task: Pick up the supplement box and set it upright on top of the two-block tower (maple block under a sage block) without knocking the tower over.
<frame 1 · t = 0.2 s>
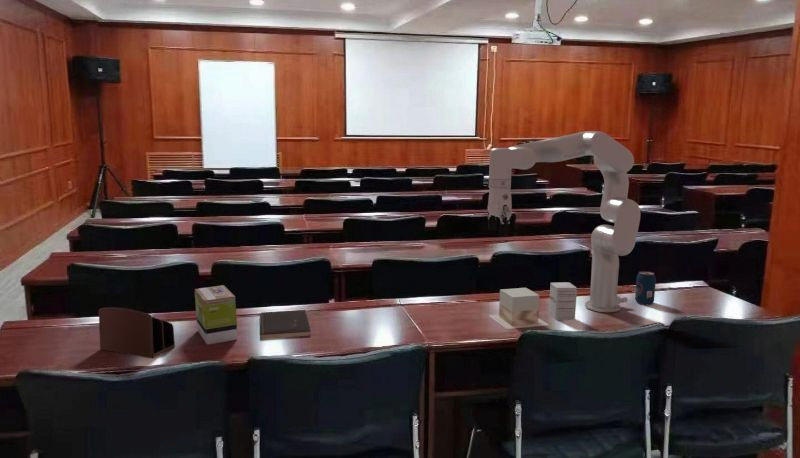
hand: (498, 232, 216), 31 cm above the table, tool pointing down, fingers open, 9 cm apart
upper block: (518, 306, 214), point 6 cm above the table, touching lower block
letter holder: (137, 349, 188), on the table
base board: (518, 322, 215), on the table
supplement box: (561, 319, 220), on the table
tea box: (216, 336, 200), on the table
hardcover book: (284, 328, 210), on the table
lower block: (518, 320, 215), point 1 cm above the table, touching base board, upper block
soda can: (644, 303, 241), on the table
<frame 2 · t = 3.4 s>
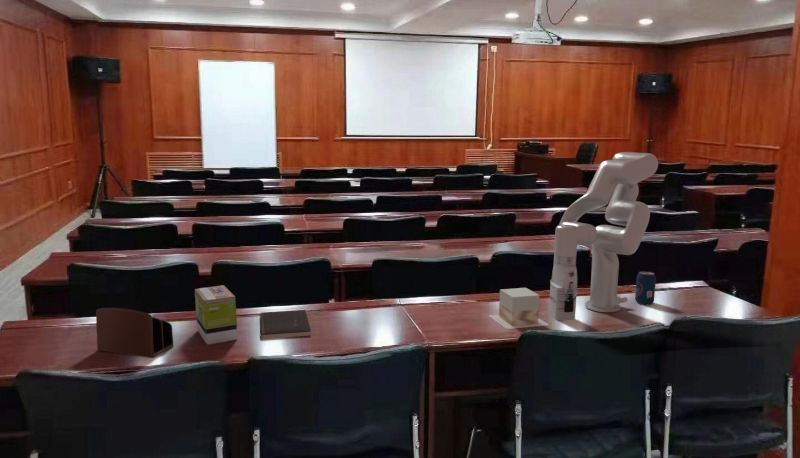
hand: (562, 308, 219), 4 cm above the table, tool pointing down, fingers closed on supplement box, 8 cm apart
supplement box: (561, 319, 220), on the table, touching gripper
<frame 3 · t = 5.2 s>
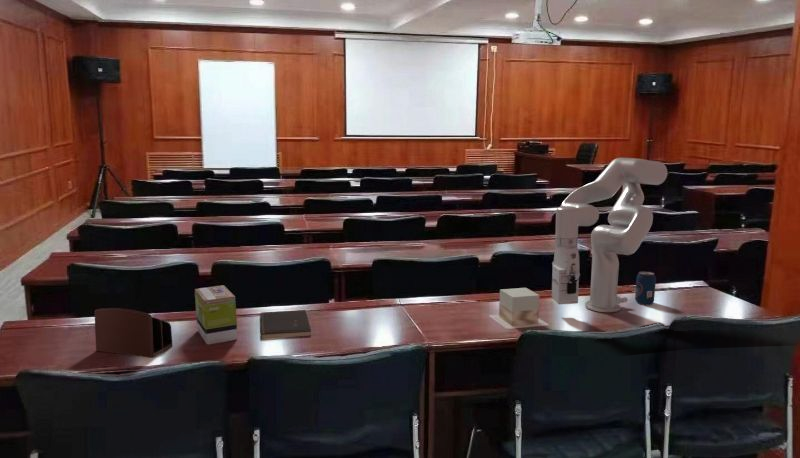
hand: (564, 289, 218), 11 cm above the table, tool pointing down, fingers closed on supplement box, 8 cm apart
supplement box: (564, 301, 219), point 6 cm above the table, touching gripper
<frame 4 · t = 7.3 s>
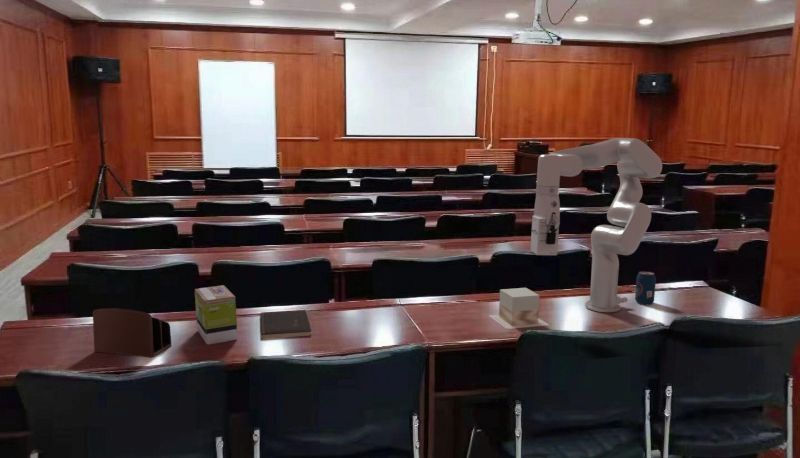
hand: (544, 241, 212), 29 cm above the table, tool pointing down, fingers closed on supplement box, 8 cm apart
supplement box: (543, 253, 213), point 24 cm above the table, touching gripper
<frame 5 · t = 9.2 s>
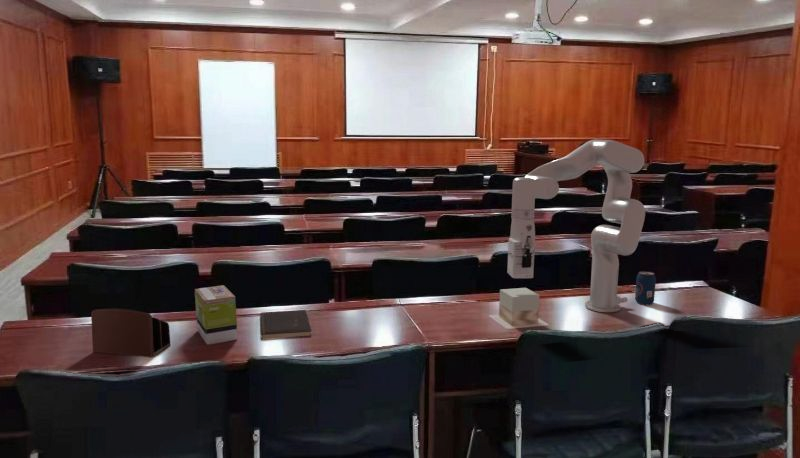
hand: (520, 264, 211), 21 cm above the table, tool pointing down, fingers closed on supplement box, 8 cm apart
supplement box: (520, 276, 212), point 17 cm above the table, touching gripper
when the fingers open (16 cm above the table, at t = 10.8 s): supplement box stays where it is, resting on upper block.
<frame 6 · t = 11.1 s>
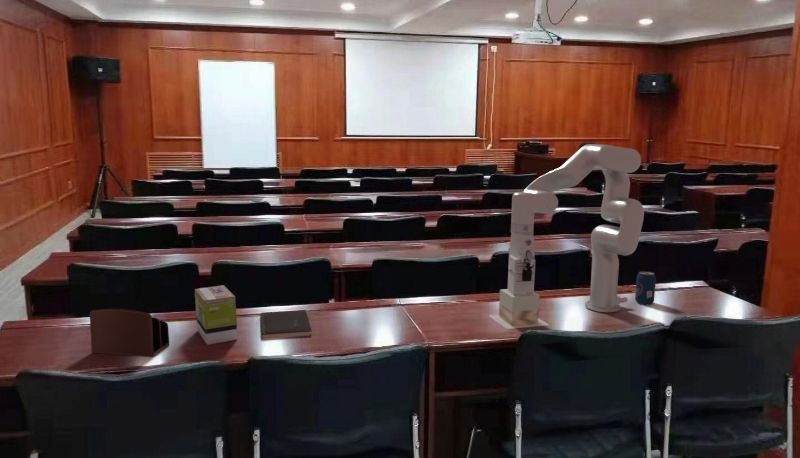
hand: (520, 277, 212), 16 cm above the table, tool pointing down, fingers open, 9 cm apart
upper block: (518, 306, 214), point 6 cm above the table, touching lower block, supplement box
supplement box: (520, 293, 213), point 11 cm above the table, touching upper block
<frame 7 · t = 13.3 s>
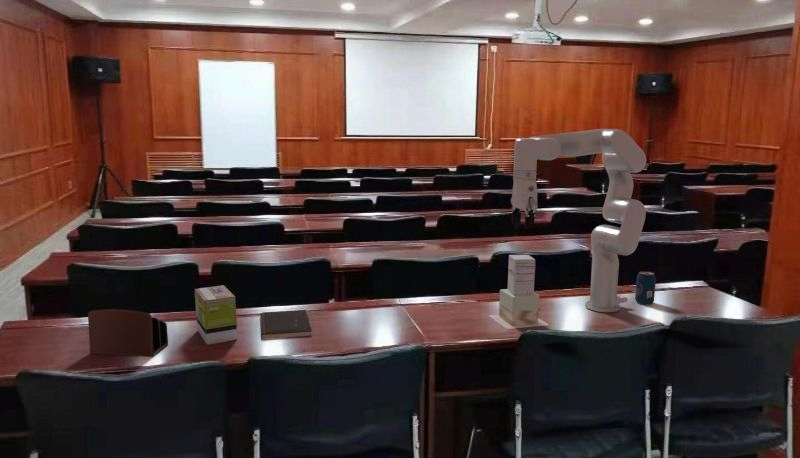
hand: (522, 225, 209), 34 cm above the table, tool pointing down, fingers open, 9 cm apart
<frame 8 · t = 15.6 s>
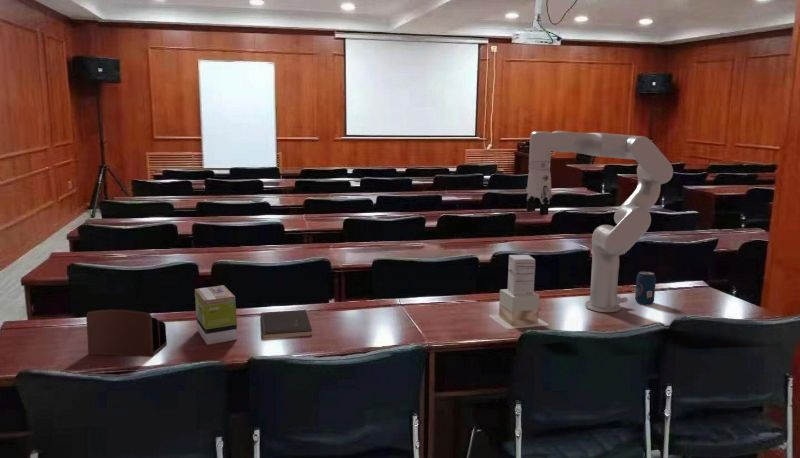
hand: (537, 212, 226), 36 cm above the table, tool pointing down, fingers open, 9 cm apart
at the end: supplement box 0.4 cm from the upper block (horizontally); supplement box point 10.8 cm above the table; upper block 0.0 cm from the lower block (horizontally) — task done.
